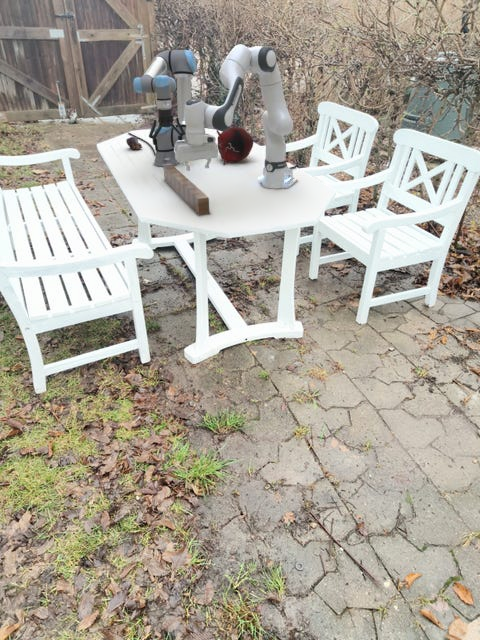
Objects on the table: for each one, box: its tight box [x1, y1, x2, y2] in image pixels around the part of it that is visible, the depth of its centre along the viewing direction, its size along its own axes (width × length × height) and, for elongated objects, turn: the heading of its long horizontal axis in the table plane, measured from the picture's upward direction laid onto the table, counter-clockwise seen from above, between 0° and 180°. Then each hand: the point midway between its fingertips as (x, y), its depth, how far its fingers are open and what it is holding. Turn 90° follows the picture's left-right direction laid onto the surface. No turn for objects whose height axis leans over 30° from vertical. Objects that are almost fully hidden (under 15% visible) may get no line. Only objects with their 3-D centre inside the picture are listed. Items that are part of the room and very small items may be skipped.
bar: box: [163, 165, 210, 216], centre depth 241 cm, size 62×5×8 cm, turn 24°
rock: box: [125, 136, 143, 150], centre depth 324 cm, size 12×9×10 cm
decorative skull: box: [216, 126, 254, 165], centre depth 295 cm, size 21×24×25 cm
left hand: (168, 149), depth 252 cm, fingers open, 13 cm apart
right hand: (197, 169), depth 212 cm, fingers open, 8 cm apart
